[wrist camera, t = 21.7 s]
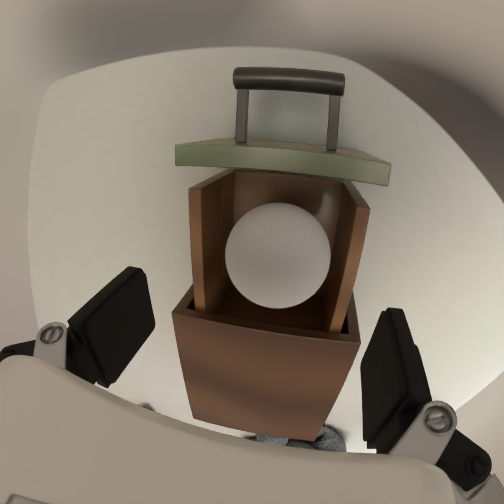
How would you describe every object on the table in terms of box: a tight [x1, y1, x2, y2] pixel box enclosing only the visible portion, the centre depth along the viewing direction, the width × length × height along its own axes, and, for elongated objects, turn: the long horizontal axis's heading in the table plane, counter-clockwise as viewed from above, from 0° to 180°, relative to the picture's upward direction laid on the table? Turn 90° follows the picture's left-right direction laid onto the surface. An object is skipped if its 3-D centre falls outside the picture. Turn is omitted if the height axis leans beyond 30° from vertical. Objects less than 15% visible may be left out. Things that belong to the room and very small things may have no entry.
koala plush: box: [248, 426, 346, 452], centre depth 31 cm, size 17×18×20 cm
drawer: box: [175, 67, 391, 333], centre depth 18 cm, size 18×11×8 cm, turn 177°
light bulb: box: [225, 203, 331, 308], centre depth 17 cm, size 6×6×10 cm
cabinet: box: [172, 284, 361, 441], centre depth 24 cm, size 15×13×10 cm
